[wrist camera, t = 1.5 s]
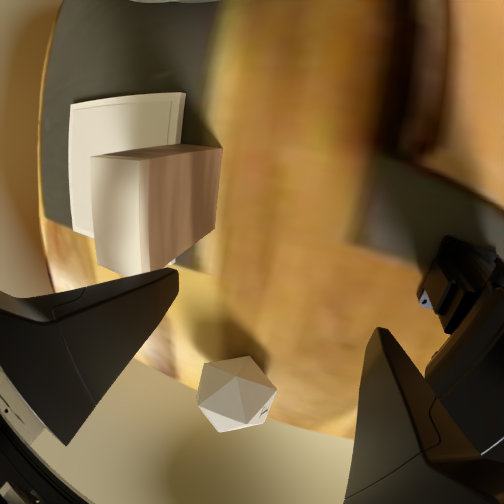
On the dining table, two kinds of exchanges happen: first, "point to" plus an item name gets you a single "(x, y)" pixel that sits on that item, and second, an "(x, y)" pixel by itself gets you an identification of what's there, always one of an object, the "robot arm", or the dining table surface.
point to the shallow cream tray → (116, 139)
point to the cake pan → (182, 0)
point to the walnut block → (152, 204)
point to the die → (234, 393)
